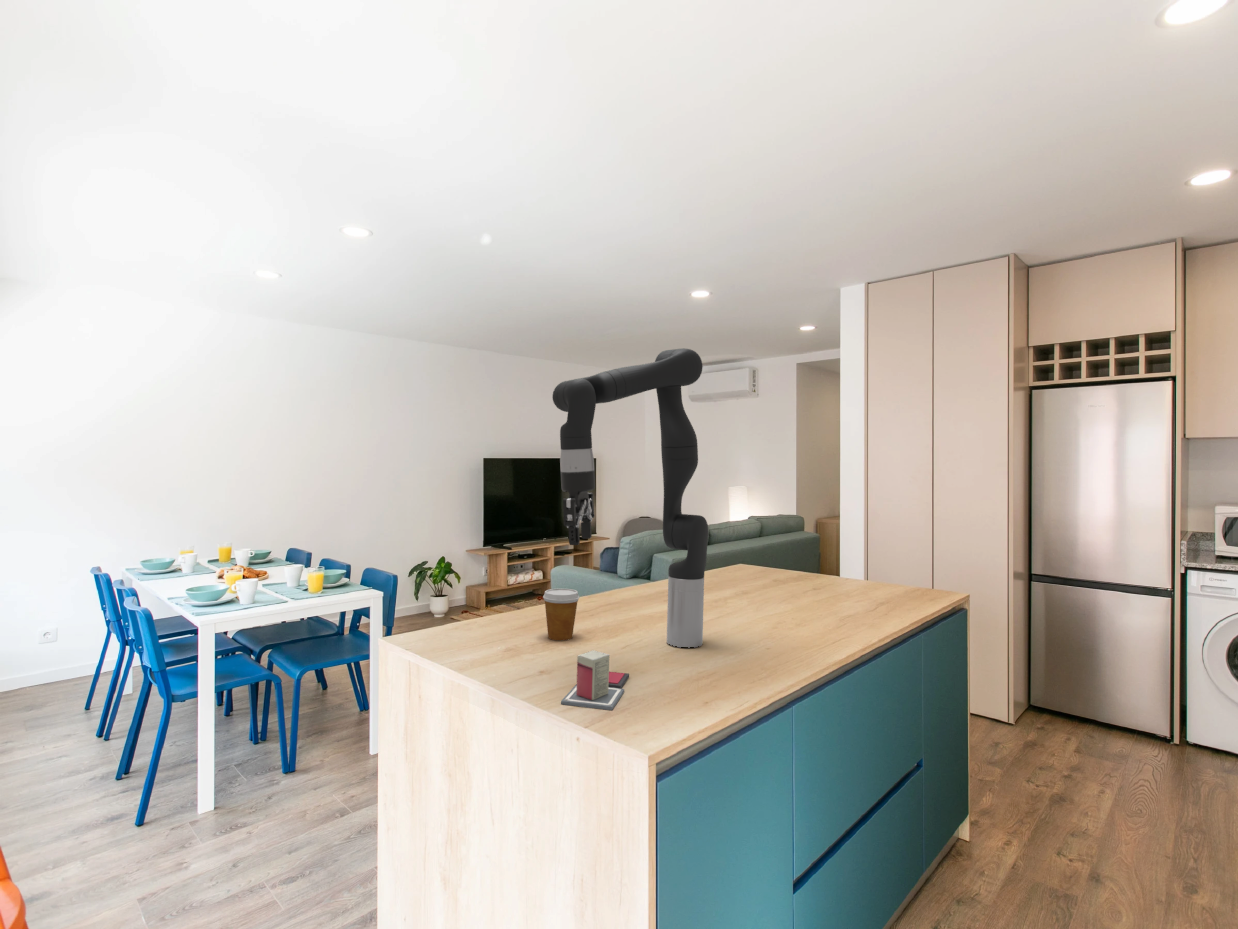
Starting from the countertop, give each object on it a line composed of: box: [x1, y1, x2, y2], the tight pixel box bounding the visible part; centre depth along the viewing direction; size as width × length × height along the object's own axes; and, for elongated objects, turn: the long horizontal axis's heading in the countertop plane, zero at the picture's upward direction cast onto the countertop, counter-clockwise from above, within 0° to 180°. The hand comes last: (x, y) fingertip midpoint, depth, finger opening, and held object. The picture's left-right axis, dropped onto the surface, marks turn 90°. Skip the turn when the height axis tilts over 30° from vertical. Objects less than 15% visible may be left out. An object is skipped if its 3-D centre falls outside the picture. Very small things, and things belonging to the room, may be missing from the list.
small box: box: [576, 649, 610, 700], centre depth 125 cm, size 5×4×8 cm
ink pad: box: [608, 670, 630, 689], centre depth 134 cm, size 8×8×1 cm
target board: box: [560, 683, 625, 711], centre depth 125 cm, size 10×10×1 cm
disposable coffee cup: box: [542, 588, 580, 642], centre depth 167 cm, size 10×10×12 cm
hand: (580, 541), depth 143 cm, fingers open, 8 cm apart
